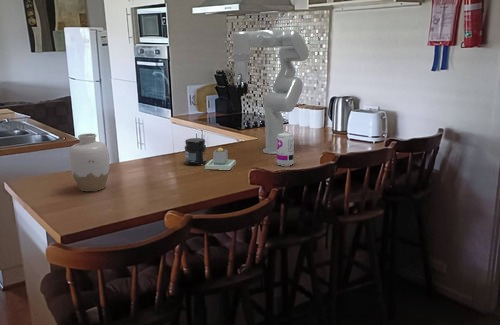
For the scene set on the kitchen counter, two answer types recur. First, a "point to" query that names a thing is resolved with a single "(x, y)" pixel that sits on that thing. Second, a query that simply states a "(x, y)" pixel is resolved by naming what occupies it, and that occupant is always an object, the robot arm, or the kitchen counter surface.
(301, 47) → the robot arm
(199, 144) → the supplement container
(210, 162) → the tray
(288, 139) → the supplement can
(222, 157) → the hollow metal cube
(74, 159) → the vase
